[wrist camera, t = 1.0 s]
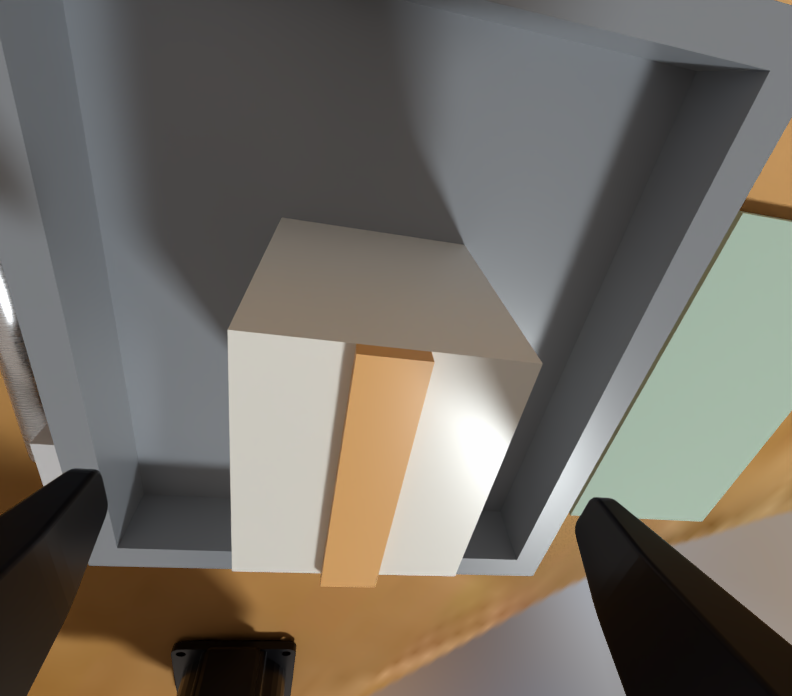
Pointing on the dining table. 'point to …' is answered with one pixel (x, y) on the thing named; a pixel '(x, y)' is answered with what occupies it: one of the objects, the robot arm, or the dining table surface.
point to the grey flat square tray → (361, 211)
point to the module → (367, 404)
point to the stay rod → (18, 371)
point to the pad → (708, 384)
